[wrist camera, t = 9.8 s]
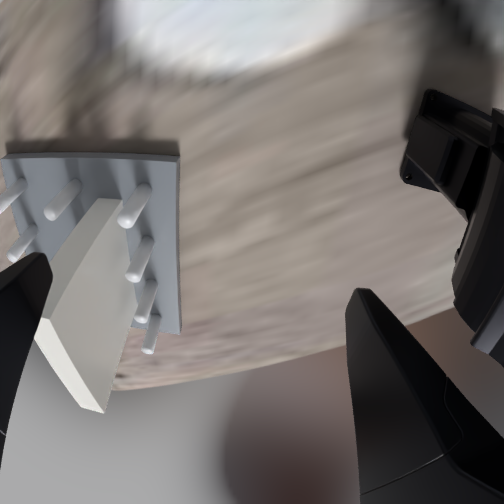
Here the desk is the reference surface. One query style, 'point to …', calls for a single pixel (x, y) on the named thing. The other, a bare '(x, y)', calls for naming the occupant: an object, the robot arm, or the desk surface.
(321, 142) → the desk surface
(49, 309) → the white rectangular slab
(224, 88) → the desk surface
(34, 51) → the desk surface
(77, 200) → the dish rack
